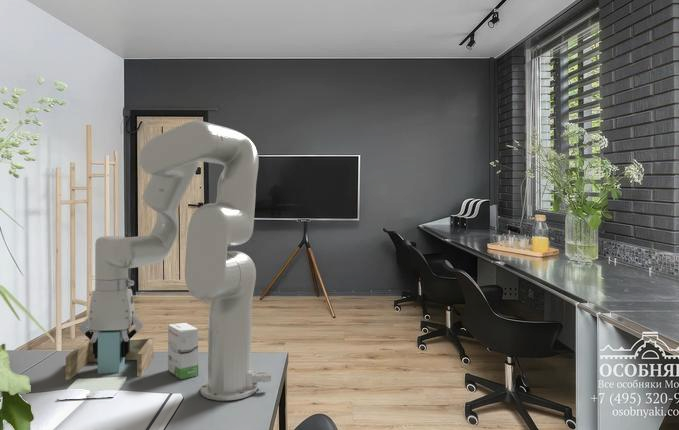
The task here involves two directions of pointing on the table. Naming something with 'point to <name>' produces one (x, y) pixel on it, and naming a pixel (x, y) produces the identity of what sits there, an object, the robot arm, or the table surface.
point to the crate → (84, 353)
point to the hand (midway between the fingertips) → (111, 355)
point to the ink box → (183, 350)
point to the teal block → (110, 352)
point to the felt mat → (98, 384)
